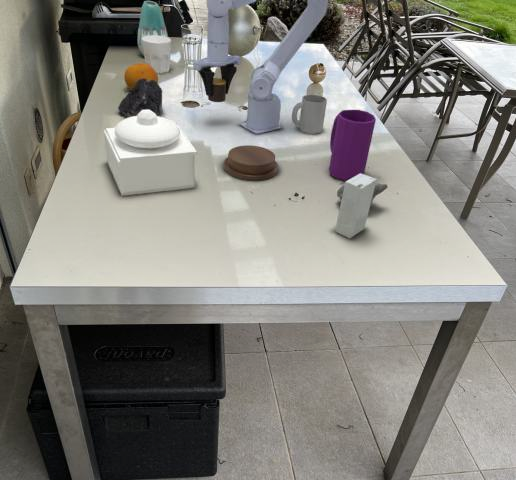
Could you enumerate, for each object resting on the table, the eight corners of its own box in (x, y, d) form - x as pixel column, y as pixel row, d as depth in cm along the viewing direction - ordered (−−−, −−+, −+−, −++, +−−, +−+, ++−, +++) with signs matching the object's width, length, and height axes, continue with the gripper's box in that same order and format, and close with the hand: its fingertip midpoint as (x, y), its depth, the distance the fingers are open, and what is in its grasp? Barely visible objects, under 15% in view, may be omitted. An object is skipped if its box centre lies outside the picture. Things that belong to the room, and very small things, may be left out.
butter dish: (107, 163, 133) (99, 97, 123) (177, 157, 139) (175, 93, 128) (121, 196, 122) (113, 126, 111) (197, 187, 128) (196, 120, 117)
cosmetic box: (348, 222, 121) (359, 171, 112) (365, 229, 119) (377, 178, 110) (333, 232, 117) (343, 180, 109) (350, 240, 115) (362, 187, 107)
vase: (175, 58, 204) (173, 3, 192) (151, 62, 197) (148, 6, 185) (156, 50, 209) (153, -3, 197) (132, 55, 203) (127, -1, 190)
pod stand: (255, 153, 145) (256, 140, 142) (288, 173, 137) (290, 159, 135) (213, 163, 138) (213, 150, 135) (245, 185, 130) (246, 171, 128)
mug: (337, 183, 135) (347, 123, 125) (314, 157, 145) (322, 100, 135) (369, 180, 137) (382, 121, 127) (344, 155, 148) (355, 99, 138)
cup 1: (170, 75, 188) (168, 44, 181) (141, 73, 188) (139, 41, 181) (173, 67, 195) (172, 36, 189) (146, 64, 195) (144, 34, 188)
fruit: (134, 83, 179) (131, 57, 173) (163, 88, 177) (162, 62, 172) (119, 92, 171) (117, 65, 166) (150, 98, 170) (148, 71, 164)
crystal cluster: (122, 125, 154) (121, 90, 147) (114, 104, 162) (114, 70, 155) (167, 126, 158) (169, 92, 151) (158, 106, 167) (159, 73, 160)
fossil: (371, 196, 131) (379, 164, 126) (387, 214, 125) (396, 182, 119) (329, 198, 128) (335, 166, 123) (343, 217, 122) (350, 185, 117)
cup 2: (325, 134, 158) (330, 103, 152) (293, 134, 156) (297, 103, 150) (318, 124, 163) (322, 94, 157) (287, 125, 161) (290, 94, 155)
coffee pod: (219, 95, 156) (219, 77, 153) (228, 100, 153) (229, 82, 150) (204, 97, 154) (204, 79, 150) (214, 103, 151) (214, 84, 147)
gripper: (231, 35, 149) (229, 86, 158) (187, 39, 142) (188, 93, 151) (246, 41, 145) (243, 93, 154) (201, 46, 138) (201, 101, 147)
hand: (217, 94), depth 152 cm, fingers closed on coffee pod, 5 cm apart
